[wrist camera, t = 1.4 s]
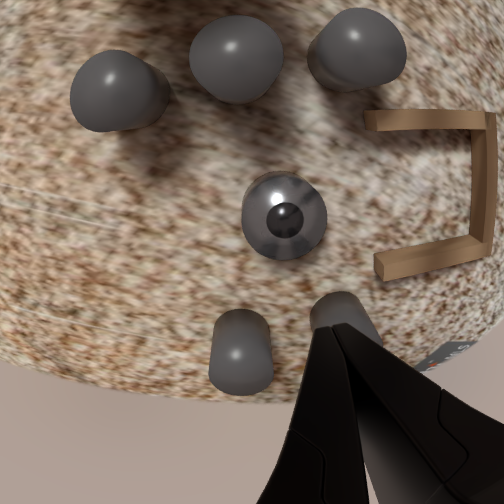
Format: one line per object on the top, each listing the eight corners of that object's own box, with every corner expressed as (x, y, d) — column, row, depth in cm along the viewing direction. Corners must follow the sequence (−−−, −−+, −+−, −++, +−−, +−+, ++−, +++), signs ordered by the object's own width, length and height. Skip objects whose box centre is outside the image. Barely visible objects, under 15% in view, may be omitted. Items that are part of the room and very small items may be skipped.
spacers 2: (362, 286, 21) (385, 323, 17) (361, 330, 23) (380, 369, 18) (207, 313, 21) (200, 356, 17) (220, 354, 23) (217, 398, 19)
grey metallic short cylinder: (311, 165, 18) (322, 171, 15) (320, 236, 20) (331, 252, 17) (234, 178, 18) (233, 186, 16) (249, 249, 20) (250, 267, 17)
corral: (479, 111, 16) (495, 112, 14) (477, 246, 20) (490, 255, 18) (363, 110, 16) (374, 110, 15) (373, 269, 20) (383, 281, 19)
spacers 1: (364, 31, 14) (397, 10, 10) (376, 91, 16) (413, 85, 12) (102, 77, 15) (65, 68, 11) (113, 136, 16) (78, 143, 12)
